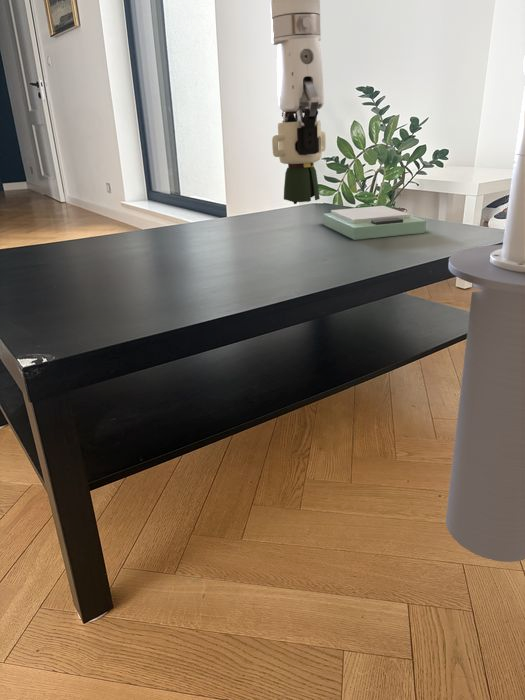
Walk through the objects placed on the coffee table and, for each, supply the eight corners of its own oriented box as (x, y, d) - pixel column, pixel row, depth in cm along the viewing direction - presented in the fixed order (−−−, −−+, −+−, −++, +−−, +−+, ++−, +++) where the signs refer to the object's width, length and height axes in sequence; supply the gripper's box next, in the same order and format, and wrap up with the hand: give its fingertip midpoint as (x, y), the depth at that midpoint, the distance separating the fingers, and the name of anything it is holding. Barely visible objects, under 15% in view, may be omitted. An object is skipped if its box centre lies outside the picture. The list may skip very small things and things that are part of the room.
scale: (425, 232, 115) (426, 216, 113) (354, 240, 111) (354, 223, 110) (386, 218, 131) (387, 204, 129) (323, 224, 127) (323, 210, 126)
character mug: (289, 209, 89) (285, 123, 84) (264, 205, 95) (259, 124, 90) (339, 200, 95) (338, 118, 90) (313, 197, 100) (311, 120, 95)
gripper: (340, 21, 78) (340, 153, 85) (301, 38, 93) (304, 149, 100) (289, 22, 76) (294, 157, 83) (258, 40, 92) (265, 152, 99)
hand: (300, 152), depth 92 cm, fingers closed on character mug, 7 cm apart
